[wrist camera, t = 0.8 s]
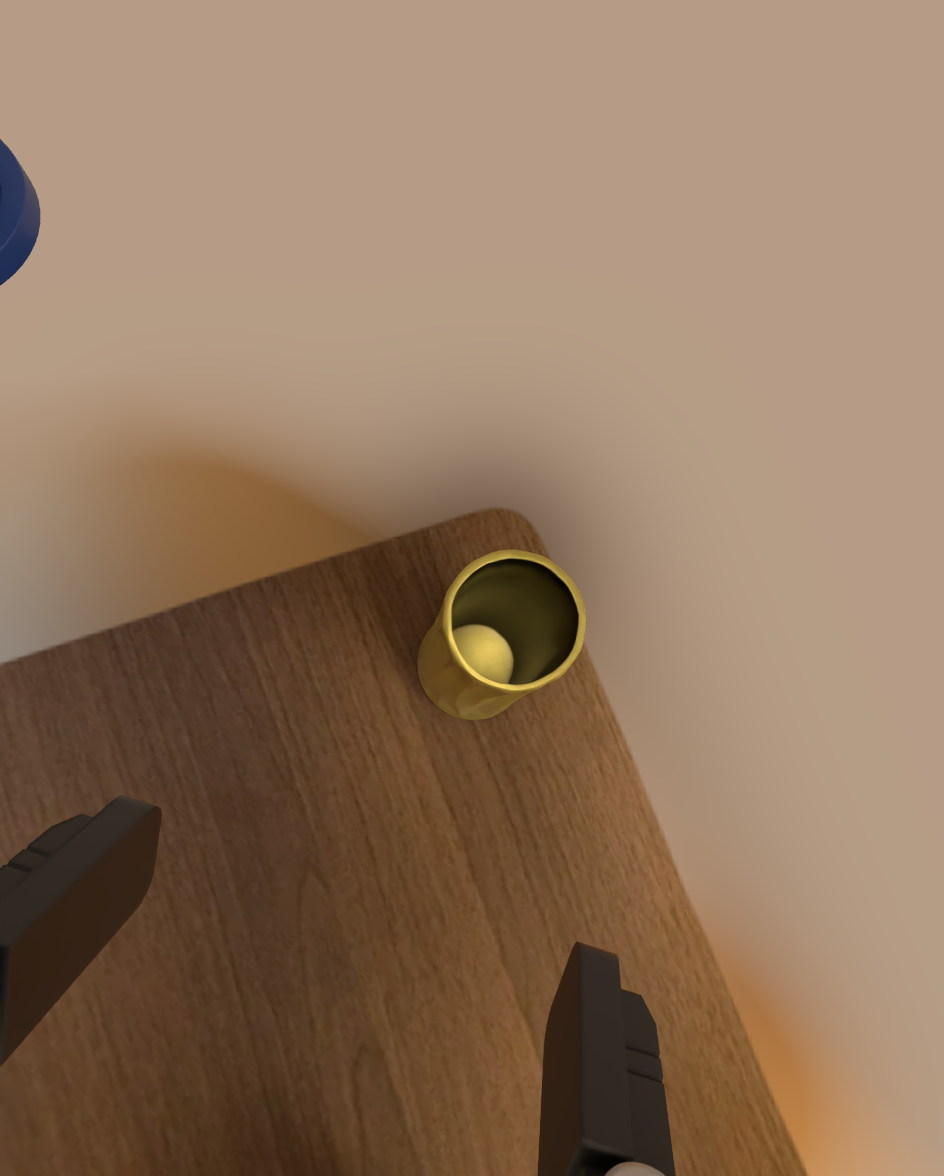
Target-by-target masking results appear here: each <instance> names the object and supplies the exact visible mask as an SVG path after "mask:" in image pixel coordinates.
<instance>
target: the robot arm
mask: <svg viewBox="0 0 944 1176" xmlns="http://www.w3.org/2000/svg"><path fill="white" fill-rule="evenodd" d="M0 202H1V183H0ZM161 817H162V812H161V809H160V808H159V807H157V806H154V805H151V804H148V803H144V802H141V801H138V800H135V799H132V798H129V797H126V796H119V797H117V798H115V799H114V800H113V801H112V802H110V803H109V804H108V805H107V806H106V807H105V808H103V809H102V810H101V811H100V812H99V813H98V814H97V815H95V816H94V817H90V816H87V815H84V814H80V815H77V816H75V817H73V818H70V819H68V820H66V821H63V822H61V823H59V824H56V825H54V826H52V827H50V828H49V829H48V830H46V831H45V832H44V833H43V834H41V835H40V836H39V837H38V838H37V839H35V840H34V841H33V842H32V843H30V844H29V845H28V847H27V849H26V850H25V849H23V850H22V851H21V852H19V853H18V854H17V855H16V856H14V857H13V858H12V859H11V860H9V863H8V864H7V865H3V866H2V867H1V868H0V1067H1V1066H2V1064H3V1063H4V1062H5V1061H6V1060H7V1059H8V1057H9V1056H10V1055H11V1054H12V1053H13V1052H14V1050H15V1049H16V1048H17V1047H18V1046H19V1045H20V1044H21V1042H22V1041H23V1040H24V1039H25V1038H26V1037H27V1035H28V1034H29V1033H30V1032H31V1031H32V1030H33V1028H34V1027H35V1026H36V1025H37V1024H38V1023H39V1022H40V1020H41V1019H42V1018H43V1017H44V1016H45V1015H46V1013H47V1012H48V1011H49V1010H50V1009H51V1008H52V1006H53V1005H54V1004H55V1003H56V1002H57V1001H58V1000H59V998H60V997H61V996H62V995H63V994H64V993H65V991H66V990H67V989H68V988H69V987H70V986H71V984H72V983H73V982H74V981H75V980H76V979H77V978H78V976H79V975H80V974H81V973H82V972H83V971H84V969H85V968H86V967H87V966H88V965H89V964H90V962H91V961H92V960H93V959H94V958H95V957H96V956H97V954H98V953H99V952H100V951H101V950H102V949H103V947H104V946H105V945H106V944H107V943H108V942H109V940H110V939H111V938H112V937H113V936H114V935H115V934H116V932H117V931H118V930H119V929H120V928H121V927H122V925H123V924H124V923H125V922H126V921H127V920H128V918H129V917H130V916H131V915H132V914H133V913H134V911H135V910H136V909H137V908H138V906H139V905H140V904H141V902H142V900H143V899H144V897H145V895H146V893H147V891H148V889H149V886H150V884H151V881H152V877H153V873H154V866H155V859H156V852H157V845H158V838H159V832H160V825H161ZM659 1054H660V1052H659V1044H658V1036H657V1028H656V1023H655V1021H654V1019H653V1017H652V1016H651V1014H650V1012H649V1010H648V1008H647V1006H646V1004H645V1002H644V1000H643V998H642V996H641V995H639V994H636V993H633V992H629V991H626V990H623V989H621V983H620V970H619V959H618V956H617V954H614V953H611V952H608V951H605V950H602V949H599V948H596V947H592V946H589V945H586V944H583V943H580V942H576V943H575V945H574V946H573V949H572V951H571V954H570V957H569V959H568V962H567V965H566V968H565V970H564V973H563V976H562V979H561V981H560V984H559V987H558V990H557V992H556V995H555V998H554V1001H553V1003H552V1006H551V1010H550V1013H549V1017H548V1022H547V1027H546V1033H545V1041H544V1056H543V1077H542V1097H541V1117H540V1138H539V1158H538V1176H675V1168H674V1160H673V1152H672V1145H671V1137H670V1129H669V1121H668V1114H667V1106H666V1098H665V1090H664V1084H662V1079H663V1075H662V1067H661V1059H659Z"/></svg>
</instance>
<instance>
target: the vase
mask: <svg viewBox="0 0 944 1176" xmlns="http://www.w3.org/2000/svg"><path fill="white" fill-rule="evenodd" d="M585 627H586V612H585V606H584V603H583V600H582V597H581V595H580V592H579V590H578V589H577V587H576V585H575V583H574V582H573V581H572V579H571V578H570V577H569V576H568V575H567V574H566V573H565V572H564V571H563V570H562V569H560V568H559V567H558V566H557V565H556V564H554V563H553V562H552V561H550V560H549V559H547V558H545V557H543V556H541V555H538V554H534V553H530V552H525V551H520V550H514V549H510V550H501V551H495V552H492V553H490V554H488V555H485V556H483V557H481V558H479V559H477V560H475V561H473V562H472V563H470V564H469V565H468V566H466V567H465V568H464V569H463V570H462V571H461V572H460V573H459V575H458V576H457V578H456V579H455V580H454V582H453V583H452V585H451V586H450V588H449V589H448V591H447V593H446V595H445V598H444V601H443V604H442V607H441V610H440V612H439V615H438V617H437V618H436V620H435V623H434V625H433V626H432V627H431V628H430V629H429V631H428V632H427V633H426V635H425V636H424V638H423V640H422V642H421V645H420V648H419V653H418V661H417V668H418V675H419V679H420V682H421V685H422V687H423V689H424V691H425V693H426V694H427V696H428V697H429V698H430V700H431V701H432V702H433V703H434V704H435V705H436V706H437V707H438V708H440V709H441V710H443V711H444V712H446V713H448V714H450V715H452V716H454V717H457V718H461V719H467V720H478V719H486V718H490V717H493V716H495V715H497V714H499V713H500V712H502V711H503V710H505V709H506V708H508V707H509V706H510V705H511V704H513V703H514V702H515V701H516V700H517V699H519V698H521V697H523V696H525V695H527V694H528V693H530V692H532V691H533V690H537V689H539V688H540V687H542V686H544V685H546V684H549V683H551V682H552V681H554V680H556V679H558V678H559V677H561V676H562V675H563V674H564V673H565V672H566V670H567V669H568V668H569V667H570V665H571V664H572V663H573V661H574V660H575V659H576V657H577V656H578V655H579V653H580V650H581V648H582V645H583V641H584V634H585Z"/></svg>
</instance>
